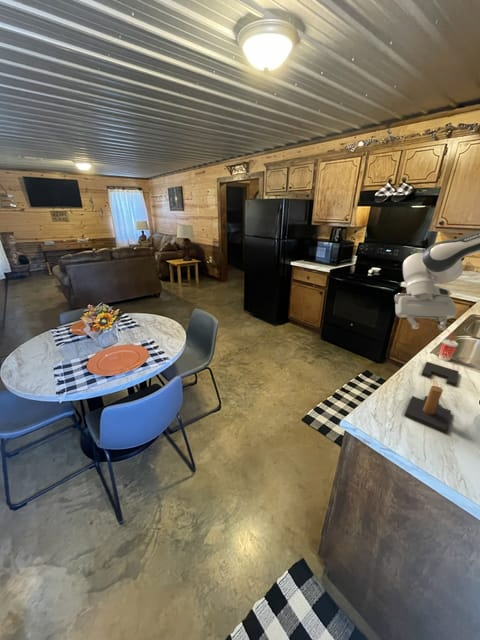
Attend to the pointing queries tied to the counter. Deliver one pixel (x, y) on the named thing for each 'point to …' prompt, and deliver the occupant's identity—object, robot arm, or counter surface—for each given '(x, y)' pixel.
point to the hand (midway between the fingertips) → (429, 328)
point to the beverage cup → (447, 349)
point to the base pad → (440, 372)
